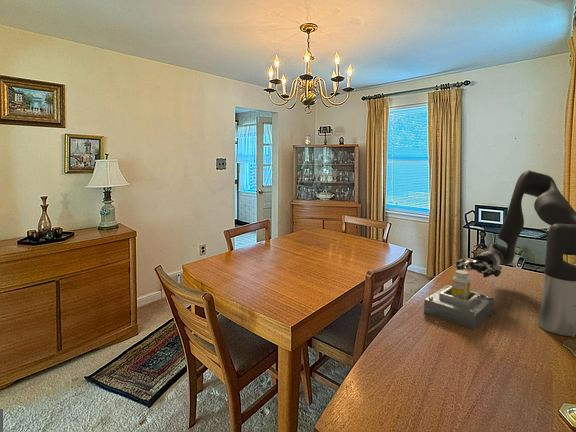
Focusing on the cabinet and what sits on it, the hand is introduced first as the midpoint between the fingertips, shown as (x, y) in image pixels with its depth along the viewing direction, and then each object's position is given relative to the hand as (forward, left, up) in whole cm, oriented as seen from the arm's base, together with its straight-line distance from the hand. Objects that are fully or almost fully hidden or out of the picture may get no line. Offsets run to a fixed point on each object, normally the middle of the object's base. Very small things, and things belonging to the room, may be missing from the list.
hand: (471, 271), depth 115 cm
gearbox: (0, +10, -12) cm, 16 cm away
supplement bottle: (0, +9, -7) cm, 12 cm away
